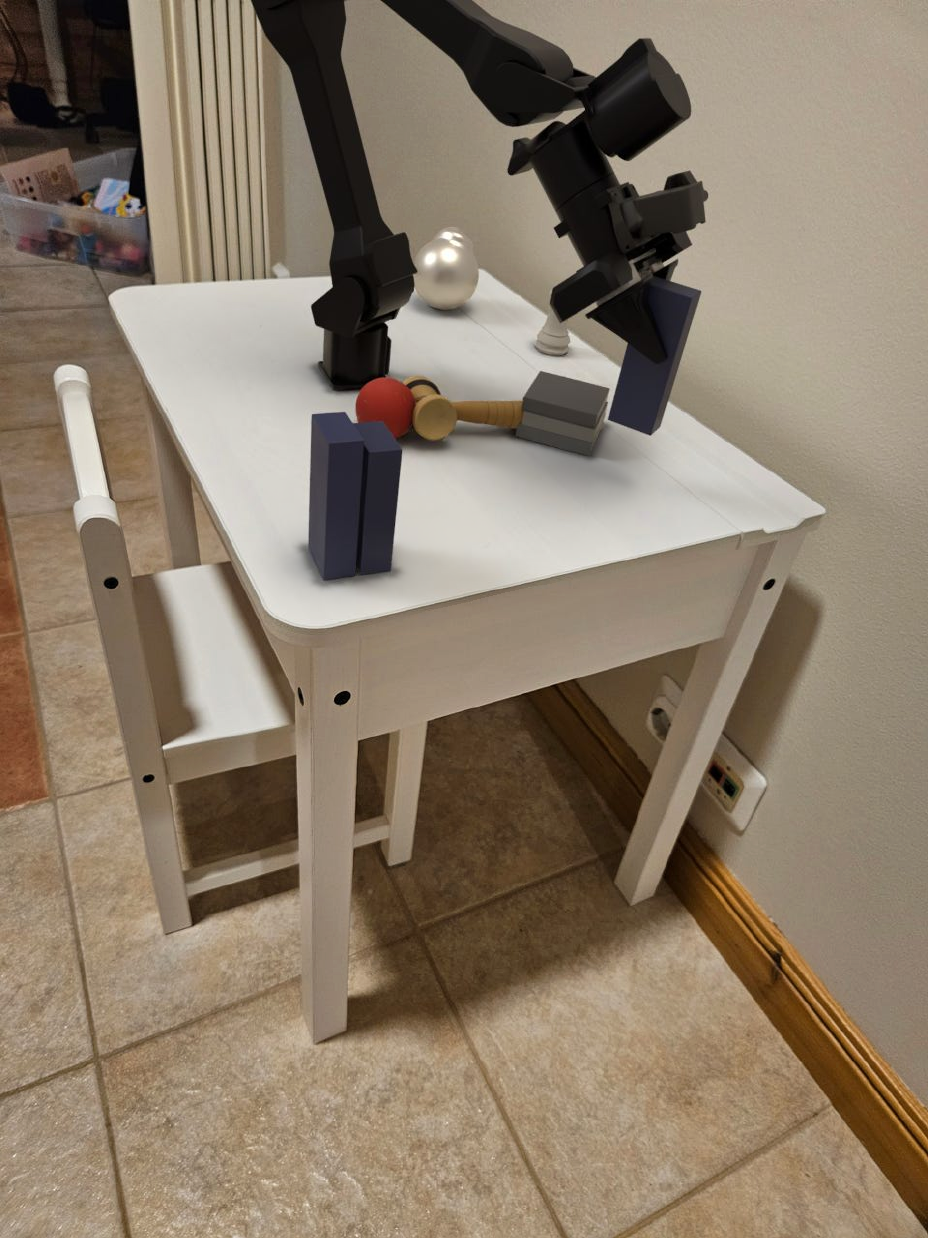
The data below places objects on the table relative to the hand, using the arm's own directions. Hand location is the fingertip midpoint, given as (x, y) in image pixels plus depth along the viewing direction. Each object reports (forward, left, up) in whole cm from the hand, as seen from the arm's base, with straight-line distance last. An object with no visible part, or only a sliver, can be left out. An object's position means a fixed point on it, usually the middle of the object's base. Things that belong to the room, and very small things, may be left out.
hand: (668, 357), depth 79 cm
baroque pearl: (-1, +48, -14) cm, 49 cm away
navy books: (-31, -6, -13) cm, 34 cm away
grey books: (-2, +12, -13) cm, 18 cm away
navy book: (-1, +1, -7) cm, 7 cm away
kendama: (-15, +14, -13) cm, 24 cm away
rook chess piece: (+8, +33, -13) cm, 36 cm away
